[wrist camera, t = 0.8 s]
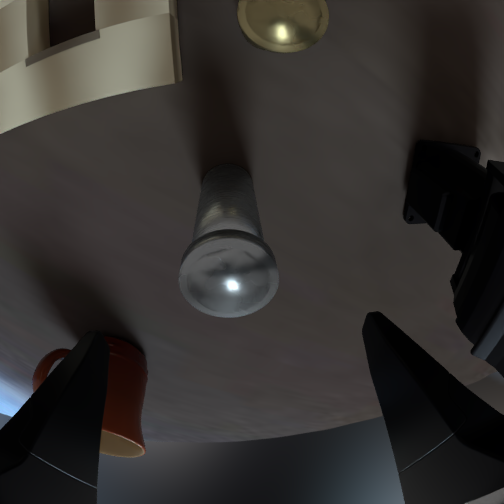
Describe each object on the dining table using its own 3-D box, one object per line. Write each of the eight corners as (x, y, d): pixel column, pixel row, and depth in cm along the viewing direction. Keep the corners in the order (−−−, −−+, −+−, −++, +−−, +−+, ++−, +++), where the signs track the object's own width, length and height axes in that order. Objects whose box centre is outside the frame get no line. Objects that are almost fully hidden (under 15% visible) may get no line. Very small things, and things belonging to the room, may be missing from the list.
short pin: (302, -3, 12) (326, -22, 8) (304, 55, 14) (330, 54, 10) (233, -3, 12) (235, -25, 8) (237, 56, 14) (239, 53, 10)
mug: (173, 365, 29) (166, 456, 21) (116, 380, 31) (103, 457, 23) (92, 290, 23) (53, 395, 15) (41, 318, 25) (7, 402, 16)
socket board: (174, -86, 8) (166, -104, 5) (182, 80, 15) (174, 83, 12) (7, -22, 7) (-16, -25, 5) (17, 125, 14) (-6, 136, 12)
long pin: (256, 156, 18) (279, 237, 10) (258, 211, 20) (278, 313, 13) (193, 162, 18) (169, 246, 10) (201, 216, 20) (188, 320, 12)
